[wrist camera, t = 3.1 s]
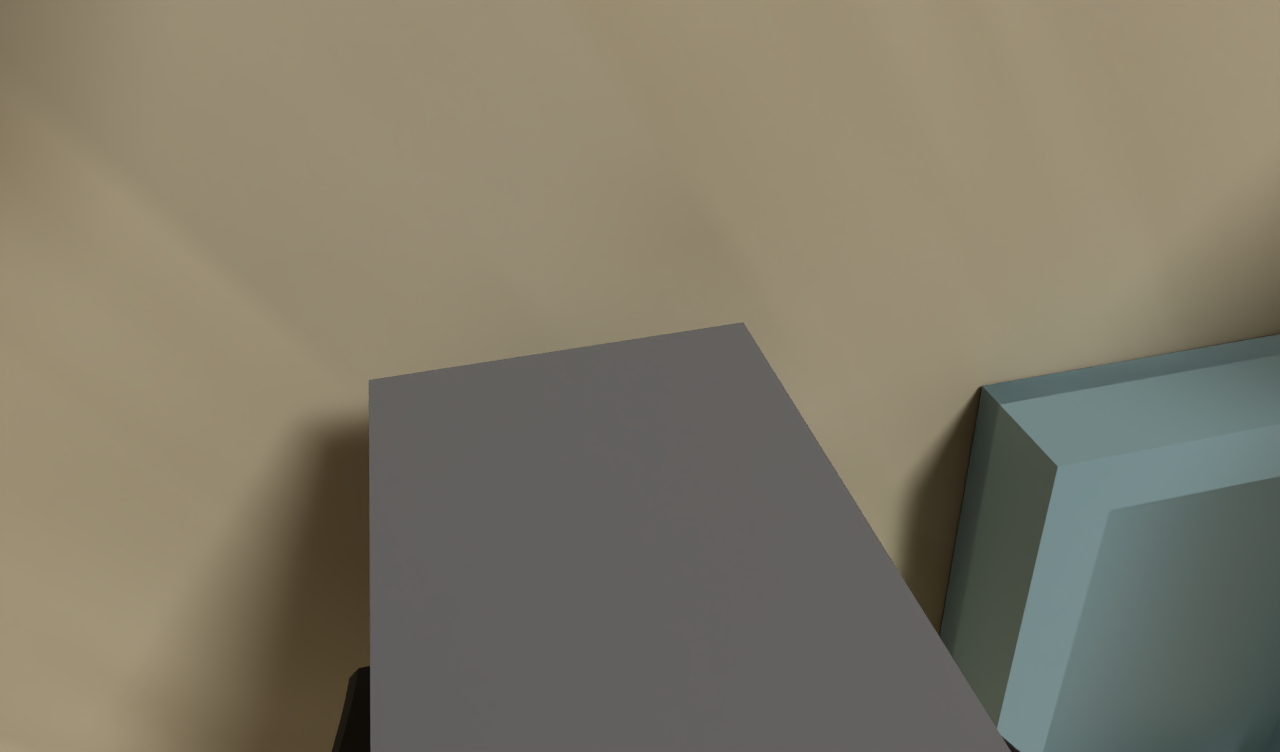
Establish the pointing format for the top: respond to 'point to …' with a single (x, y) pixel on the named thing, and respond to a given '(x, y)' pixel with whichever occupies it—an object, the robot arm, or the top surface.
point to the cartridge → (636, 567)
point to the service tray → (1126, 555)
